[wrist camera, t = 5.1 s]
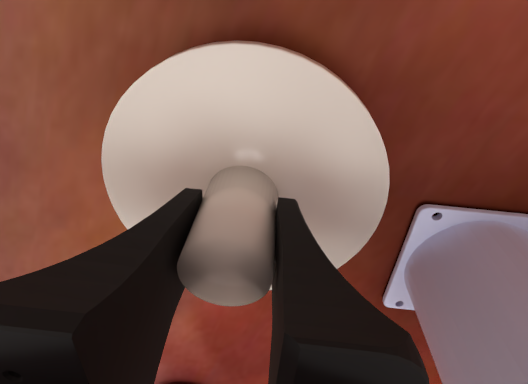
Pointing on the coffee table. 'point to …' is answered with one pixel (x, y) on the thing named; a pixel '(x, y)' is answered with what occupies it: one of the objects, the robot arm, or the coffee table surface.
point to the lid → (246, 160)
